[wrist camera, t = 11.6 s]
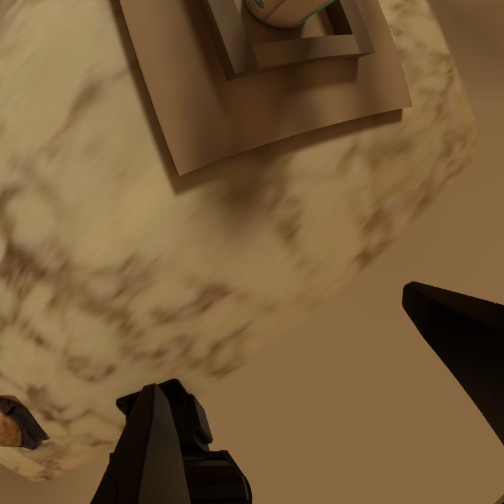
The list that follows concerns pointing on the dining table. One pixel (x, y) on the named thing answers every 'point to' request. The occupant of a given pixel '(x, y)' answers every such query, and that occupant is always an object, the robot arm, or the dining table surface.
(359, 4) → the brown square frame
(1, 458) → the dining table surface
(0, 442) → the bread roll
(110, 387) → the dining table surface
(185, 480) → the robot arm
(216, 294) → the dining table surface
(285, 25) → the beer can
